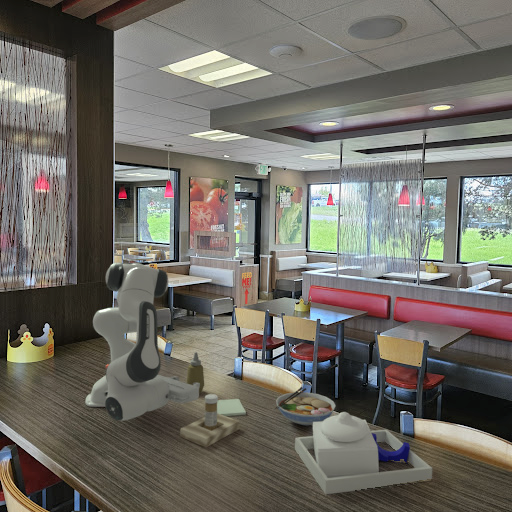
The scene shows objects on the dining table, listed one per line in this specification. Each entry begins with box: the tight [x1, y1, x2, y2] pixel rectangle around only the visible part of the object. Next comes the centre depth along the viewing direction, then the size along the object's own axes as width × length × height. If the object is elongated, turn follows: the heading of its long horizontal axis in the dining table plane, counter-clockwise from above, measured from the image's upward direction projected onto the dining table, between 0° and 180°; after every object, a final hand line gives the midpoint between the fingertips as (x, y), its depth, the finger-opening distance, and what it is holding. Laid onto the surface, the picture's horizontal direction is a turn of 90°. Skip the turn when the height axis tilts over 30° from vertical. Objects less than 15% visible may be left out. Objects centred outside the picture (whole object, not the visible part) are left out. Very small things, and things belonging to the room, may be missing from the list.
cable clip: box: [372, 433, 411, 463], centre depth 145 cm, size 12×4×6 cm, turn 79°
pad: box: [217, 398, 247, 417], centre depth 182 cm, size 14×14×1 cm
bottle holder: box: [179, 413, 240, 448], centre depth 160 cm, size 18×12×3 cm, turn 144°
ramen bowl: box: [274, 386, 336, 426], centre depth 172 cm, size 25×23×8 cm
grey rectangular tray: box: [294, 429, 433, 495], centre depth 142 cm, size 34×26×4 cm
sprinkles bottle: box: [204, 393, 219, 431], centre depth 160 cm, size 5×5×14 cm
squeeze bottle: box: [185, 351, 205, 395], centre depth 198 cm, size 8×8×18 cm
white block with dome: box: [312, 411, 380, 478], centre depth 141 cm, size 18×18×16 cm
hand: (187, 381), depth 149 cm, fingers open, 8 cm apart
